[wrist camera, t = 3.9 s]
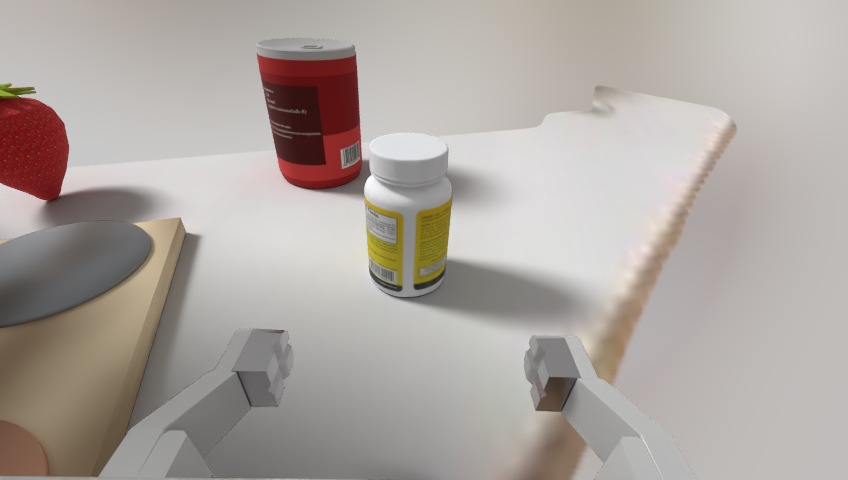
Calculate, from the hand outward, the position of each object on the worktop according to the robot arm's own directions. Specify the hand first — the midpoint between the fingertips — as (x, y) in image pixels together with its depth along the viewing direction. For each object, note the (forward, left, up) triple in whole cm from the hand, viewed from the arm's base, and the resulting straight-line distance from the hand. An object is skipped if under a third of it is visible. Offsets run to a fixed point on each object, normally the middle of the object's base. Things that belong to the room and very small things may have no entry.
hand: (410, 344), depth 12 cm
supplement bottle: (+3, +9, -5) cm, 11 cm away
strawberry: (-21, +26, -5) cm, 34 cm away
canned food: (0, +26, -5) cm, 27 cm away
